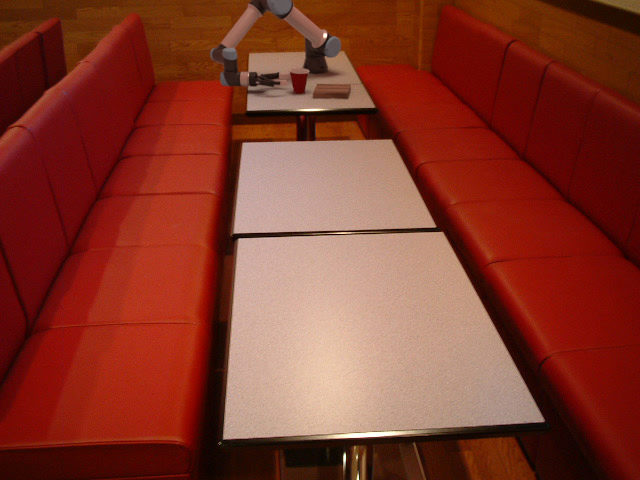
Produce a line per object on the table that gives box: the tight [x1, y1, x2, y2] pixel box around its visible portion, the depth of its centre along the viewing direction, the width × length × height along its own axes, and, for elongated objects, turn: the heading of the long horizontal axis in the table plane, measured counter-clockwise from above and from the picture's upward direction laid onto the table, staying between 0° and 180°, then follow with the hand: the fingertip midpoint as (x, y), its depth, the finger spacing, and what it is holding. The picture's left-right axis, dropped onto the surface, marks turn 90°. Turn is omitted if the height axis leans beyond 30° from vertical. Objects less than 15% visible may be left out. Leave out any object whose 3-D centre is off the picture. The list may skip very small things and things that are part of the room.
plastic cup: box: [288, 67, 309, 95], centre depth 335 cm, size 11×11×12 cm
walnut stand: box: [312, 83, 352, 100], centre depth 333 cm, size 18×18×3 cm
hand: (289, 79), depth 335 cm, fingers open, 13 cm apart
